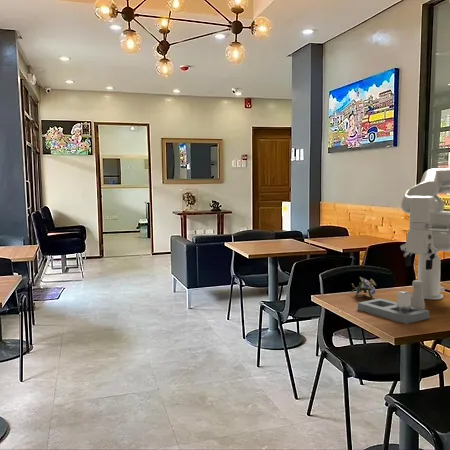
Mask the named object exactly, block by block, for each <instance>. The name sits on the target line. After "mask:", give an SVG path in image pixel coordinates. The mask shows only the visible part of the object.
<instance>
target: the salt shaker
mask: <svg viewBox="0 0 450 450" xmlns="http://www.w3.org/2000/svg"><path fill="white" fill-rule="evenodd" d="M411 284H412V286H413V289H412V293H411V306H412V307H416V308H420V309H424V310H425V309H426V303H425V299H424V296H423V290H422V287H423V285H424V283H423V281H420V280H418V279H415V280H413V281H412V283H411Z"/></svg>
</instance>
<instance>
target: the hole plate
mask: <svg viewBox="0 0 450 450" xmlns="http://www.w3.org/2000/svg"><path fill="white" fill-rule="evenodd" d="M357 310H359V311H361V312H364V311H365V313H367V312H368V313H367V314H372V315H375V316H376V317H377V316H378V317H381V318H385V319H388V320H391V321H394V322H398V323H401V324H405V325H408V324H413V323H416V322H421V321H424V320H429V319H430V310H427V309H425V308H424V309H420V308H416V307H412V306H411V313H406V314H405V313H402V312H398V311H397V301H392V300H388V299H384V298H382V297H379V298H373V299H370V300H365V301H361V302H357Z"/></svg>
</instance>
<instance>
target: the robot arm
mask: <svg viewBox="0 0 450 450" xmlns="http://www.w3.org/2000/svg"><path fill="white" fill-rule="evenodd" d="M438 194H450V168H449V167H446V168H443V167H442V168H430V169H427V170H426V171H424V173H423V175H422V177H421V180H420V181H419V183H418V184H416V185H414V186H412V187H410V188H409V189H407V190H406V191H405V192H404V195H403V198H402V200H401V210H402V212H404V213H406V214H409V229H408V231H407V233H406V242H405V243H403V244H401V245H400V246H399V247H400V250H401V253H402V254H403V257H404V264H405V265H404V266H405V267H412V255H413V254H414V255H418V264H417V265H418V266H417V267H418V268H417V280H420V281H423V283H424V285H423V287H422V290H423V296H424V300H442V299H444V294H443V293H441V292H444V291H445V290H446V289H445V287H444V286H441V263H442V262H441V258H440V256H439V255H438V254H439V253H440V252H449V253H450V210H445V202H444V201H443V199H441V198H440V197H439V196H438Z"/></svg>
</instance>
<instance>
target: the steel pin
mask: <svg viewBox="0 0 450 450" xmlns="http://www.w3.org/2000/svg"><path fill="white" fill-rule="evenodd" d="M396 294H397V296H396V297H397V299H396V302H397V311H398V312H402V313H405V314H406V313H411V298H412V292H410V291H408V290H407V291H406V290H400V291H399V290H398V291H397V293H396Z"/></svg>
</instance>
